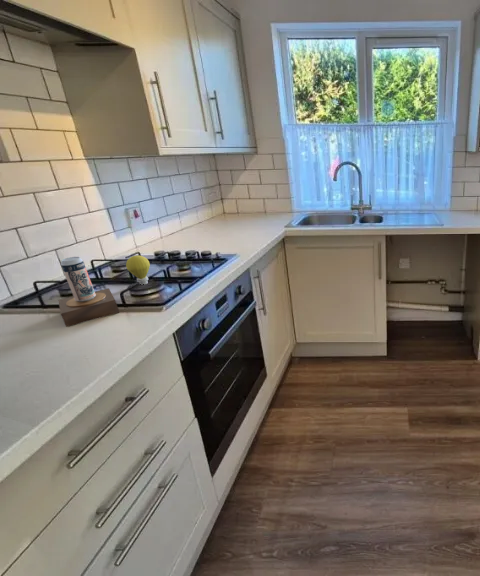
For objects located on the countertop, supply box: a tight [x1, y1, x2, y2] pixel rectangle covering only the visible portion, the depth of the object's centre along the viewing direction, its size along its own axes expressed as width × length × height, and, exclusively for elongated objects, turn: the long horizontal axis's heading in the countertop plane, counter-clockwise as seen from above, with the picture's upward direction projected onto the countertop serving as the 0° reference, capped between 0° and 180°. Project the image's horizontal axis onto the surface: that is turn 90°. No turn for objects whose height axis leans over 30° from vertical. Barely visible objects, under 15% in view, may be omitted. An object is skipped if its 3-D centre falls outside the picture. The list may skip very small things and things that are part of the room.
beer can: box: [60, 256, 96, 302], centre depth 100 cm, size 5×5×12 cm
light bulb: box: [125, 254, 151, 286], centre depth 122 cm, size 7×7×10 cm
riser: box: [58, 288, 120, 328], centre depth 103 cm, size 12×12×4 cm
